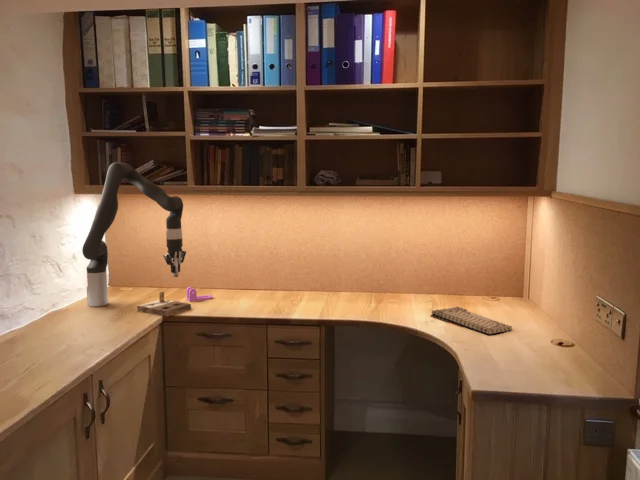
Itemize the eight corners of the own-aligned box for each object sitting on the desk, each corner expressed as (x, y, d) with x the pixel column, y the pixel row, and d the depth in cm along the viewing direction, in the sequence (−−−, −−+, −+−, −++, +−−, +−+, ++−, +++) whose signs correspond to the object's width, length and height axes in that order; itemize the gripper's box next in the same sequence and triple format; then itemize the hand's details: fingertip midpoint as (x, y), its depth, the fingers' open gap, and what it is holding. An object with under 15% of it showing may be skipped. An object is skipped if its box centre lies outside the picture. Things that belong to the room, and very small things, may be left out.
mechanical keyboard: (518, 331, 233) (518, 323, 232) (487, 338, 223) (488, 331, 223) (455, 311, 265) (455, 305, 264) (426, 317, 255) (426, 310, 255)
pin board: (137, 311, 262) (136, 295, 261) (161, 303, 276) (161, 289, 275) (167, 316, 253) (166, 300, 251) (190, 308, 266) (190, 293, 265)
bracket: (189, 302, 280) (189, 289, 279) (186, 300, 285) (186, 287, 284) (213, 299, 286) (213, 286, 285) (210, 297, 291) (210, 284, 290)
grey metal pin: (172, 276, 262) (171, 258, 261) (175, 275, 264) (175, 257, 263) (176, 277, 261) (175, 259, 260) (179, 276, 263) (178, 258, 262)
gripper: (178, 235, 268) (180, 269, 270) (158, 238, 256) (159, 274, 258) (190, 236, 264) (191, 270, 267) (169, 239, 252) (171, 275, 255)
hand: (175, 272), depth 262 cm, fingers closed on grey metal pin, 2 cm apart
